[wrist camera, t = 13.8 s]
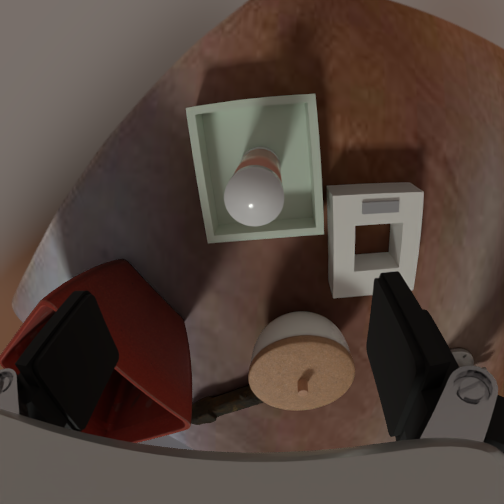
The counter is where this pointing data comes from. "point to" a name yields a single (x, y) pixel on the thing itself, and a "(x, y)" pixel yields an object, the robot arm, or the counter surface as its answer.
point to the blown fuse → (255, 188)
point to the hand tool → (222, 405)
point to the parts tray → (251, 135)
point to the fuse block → (369, 213)
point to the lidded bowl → (300, 362)
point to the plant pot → (127, 354)
